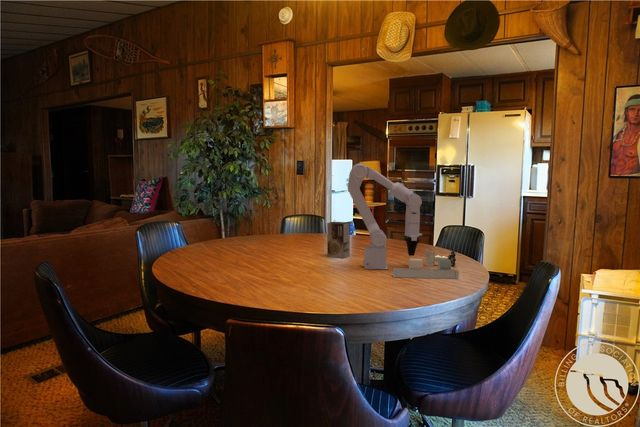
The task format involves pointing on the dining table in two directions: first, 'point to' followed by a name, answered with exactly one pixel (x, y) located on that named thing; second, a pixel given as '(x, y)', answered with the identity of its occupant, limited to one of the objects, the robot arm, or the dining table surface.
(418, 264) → the block
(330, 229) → the coffee box
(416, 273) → the rail
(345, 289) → the dining table surface
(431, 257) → the valve
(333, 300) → the dining table surface
